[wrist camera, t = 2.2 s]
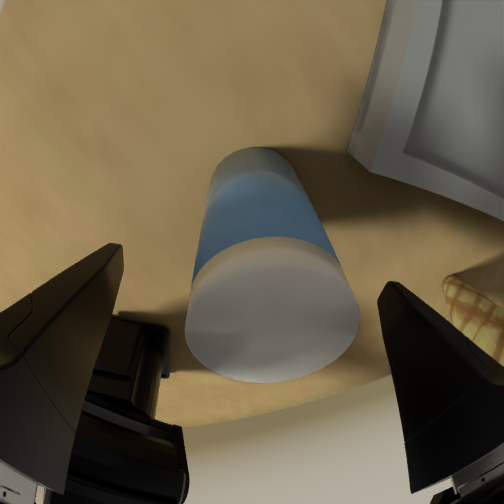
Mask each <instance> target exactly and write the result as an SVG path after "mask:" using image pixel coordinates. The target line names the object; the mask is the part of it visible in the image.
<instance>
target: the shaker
mask: <svg viewBox="0 0 504 504" xmlns="http://www.w3.org/2000/svg"><path fill="white" fill-rule="evenodd" d="M359 324H360V311H359V307H358V304H357V302H356V299H355V297H354V295H353V292H352V290H351V288H350V285H349V283H348V281H347V278H346V276H345V274H344V272H343V269H342V267H341V265H340V263H339V260H338V258H337V256H336V254H335V252H334V249H333V247H332V245H331V243H330V241H329V239H328V237H327V234H326V232H325V230H324V228H323V226H322V224H321V222H320V220H319V218H318V216H317V214H316V212H315V210H314V208H313V206H312V204H311V202H310V200H309V198H308V196H307V194H306V192H305V190H304V188H303V186H302V184H301V182H300V180H299V178H298V176H297V174H296V172H295V170H294V169H293V167H292V165H291V164H290V163H289V162H288V161H287V160H286V159H285V158H284V157H283V156H282V155H280V154H278V153H277V152H275V151H272V150H270V149H266V148H260V147H251V148H245V149H241V150H238V151H236V152H234V153H232V154H230V155H228V156H227V157H226V158H224V159H223V160H222V161H221V162H220V164H219V165H218V166H217V168H216V169H215V171H214V173H213V176H212V179H211V184H210V188H209V193H208V198H207V203H206V208H205V213H204V218H203V223H202V229H201V234H200V239H199V245H198V250H197V256H196V261H195V267H194V273H193V279H192V285H191V291H190V297H189V304H188V310H187V317H186V324H185V338H186V342H187V345H188V347H189V349H190V351H191V353H192V354H193V355H194V357H195V358H196V359H197V360H198V361H199V362H200V363H201V364H203V365H204V366H205V367H207V368H208V369H210V370H211V371H213V372H215V373H217V374H219V375H222V376H225V377H227V378H231V379H235V380H239V381H244V382H253V383H274V382H282V381H288V380H293V379H297V378H300V377H303V376H306V375H309V374H312V373H314V372H316V371H318V370H320V369H322V368H324V367H326V366H327V365H329V364H330V363H332V362H333V361H335V360H336V359H337V358H338V357H339V356H341V355H342V354H343V353H344V352H345V351H346V350H347V348H348V347H349V346H350V345H351V343H352V342H353V340H354V338H355V336H356V334H357V331H358V329H359Z"/></svg>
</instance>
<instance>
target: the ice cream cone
mask: <svg viewBox="0 0 504 504" xmlns="http://www.w3.org/2000/svg"><path fill="white" fill-rule="evenodd" d="M442 288H443V291H444V295H445V298H446V302H447V306H448V309H449V313H450V317H451V321H452V325H453V326H455V327H456V328H457V329H458V330H460V331H461V332H462V333H463V334H464V335H465V336H467V337H468V338H469V339H470V340H471V341H473V342H474V343H475V344H476V345H477V346H479V347H480V348H481V349H482V350H484V351H485V352H486V353H487V354H489V355H490V356H491V357H492V358H494V359H495V360H496V361H497V362H499V363H500V364H501V365H502V366H504V310H503V309H502V308H500V307H499V306H498V305H496V304H495V303H494V302H492V301H491V300H490V299H488V298H487V297H486V296H484V295H483V294H481V293H480V292H478V291H477V290H475V289H474V288H473V287H471V286H470V285H468V284H467V283H465V282H464V281H462V280H461V279H459V278H458V277H456V276H454V275H450V276H448V277H447V278H446V279H445V280H444V281H443V283H442Z"/></svg>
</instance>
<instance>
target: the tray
mask: <svg viewBox="0 0 504 504" xmlns="http://www.w3.org/2000/svg"><path fill="white" fill-rule="evenodd" d="M347 152H348V153H349V154H350V155H352V156H353V157H354V158H355V159H356V160H357V161H358V162H359V163H361V164H362V165H363V166H364V167H365V168H366V169H367V170H368V171H369V172H372V173H375V174H379V175H382V176H385V177H388V178H392V179H395V180H398V181H401V182H404V183H407V184H410V185H413V186H416V187H419V188H422V189H425V190H428V191H431V192H433V193H436V194H439V195H442V196H444V197H447V198H450V199H452V200H455V201H457V202H460V203H462V204H465V205H467V206H470V207H472V208H475V209H477V210H480V211H482V212H484V213H487V214H489V215H491V216H494V217H496V218H498V219H500V220H502V221H504V0H387V2H386V7H385V11H384V16H383V20H382V24H381V29H380V33H379V37H378V41H377V45H376V49H375V53H374V57H373V61H372V65H371V69H370V73H369V76H368V80H367V84H366V87H365V91H364V95H363V98H362V102H361V105H360V109H359V112H358V116H357V119H356V122H355V126H354V129H353V132H352V136H351V139H350V142H349V145H348V148H347Z"/></svg>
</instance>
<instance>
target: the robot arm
mask: <svg viewBox="0 0 504 504" xmlns="http://www.w3.org/2000/svg"><path fill="white" fill-rule="evenodd" d="M123 270H124V262H123V247H122V245H121V244H115V243H109V244H107V245H105V246H103V247H102V248H100V249H98V250H97V251H95V252H93V253H92V254H90V255H88V256H87V257H85V258H83V259H82V260H80V261H79V262H77V263H75V264H74V265H72V266H71V267H69V268H67V269H66V270H64V271H63V272H61V273H60V274H58V275H57V276H55V277H53V278H52V279H50V280H49V281H47V282H46V283H44V284H43V285H41V286H40V287H38V288H37V289H35V290H34V291H32V293H29V294H28V295H26V296H25V297H24V298H22V299H21V300H19V301H18V302H16V303H15V304H13V305H12V306H10V307H9V308H7V309H5V310H4V311H2V312H0V504H36V503H35V497H36V491H37V485H39V486H42V487H44V500H43V504H183V503H184V502H185V500H186V497H187V494H188V490H189V472H188V466H187V459H186V453H185V446H184V439H183V432H182V427H181V426H178V425H175V424H174V425H171V424H168V423H164V422H161V421H158V420H155V413H156V406H157V399H158V393H159V386H160V380H161V378H164V379H166V378H169V376H170V331H169V330H168V329H167V328H166V327H162V326H155V325H149V324H143V323H137V322H132V321H126V320H121V319H116V318H111V316H112V313H113V309H114V305H115V301H116V297H117V294H118V290H119V286H120V282H121V279H122V275H123ZM377 305H378V311H379V316H380V322H381V328H382V335H383V340H384V344H385V348H386V353H387V357H388V361H389V365H390V369H391V374H392V378H393V383H394V387H395V392H396V397H397V402H398V407H399V413H400V418H401V424H402V430H403V436H404V441H405V450H406V457H407V464H408V473H409V482H410V490H411V494H413V493H415V492H418V491H421V490H423V489H426V488H428V487H431V486H433V485H436V484H438V483H440V482H442V481H445V480H447V479H449V478H451V482H452V485H453V487H451V488H449V489H446V490H444V491H442V492H440V493H438V494H436V495H434V496H433V498H432V500H431V502H430V504H504V366H502V365H501V364H500V363H499V362H497V361H496V360H495V359H494V358H492V357H491V356H490V355H489V354H487V353H486V352H485V351H484V350H482V349H481V348H480V347H479V346H477V345H476V344H475V343H474V342H473V341H471V340H470V339H469V338H468V337H467V336H465V335H464V334H463V333H462V332H461V331H460V330H458V329H457V328H456V327H455V326H453V325H452V324H451V323H450V322H449V321H447V320H446V319H445V318H444V317H443V316H441V315H440V314H439V313H438V312H436V311H435V310H434V309H433V308H431V307H430V306H429V305H428V304H426V303H425V302H424V301H422V300H421V299H420V298H419V297H417V296H416V295H415V294H414V293H412V292H411V291H410V290H408V289H407V288H406V287H404V286H403V285H402V284H400V283H399V282H394V281H389V282H387V283H386V285H385V287H384V289H383V290H382V292H381V294H380V296H379V298H378V301H377Z"/></svg>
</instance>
